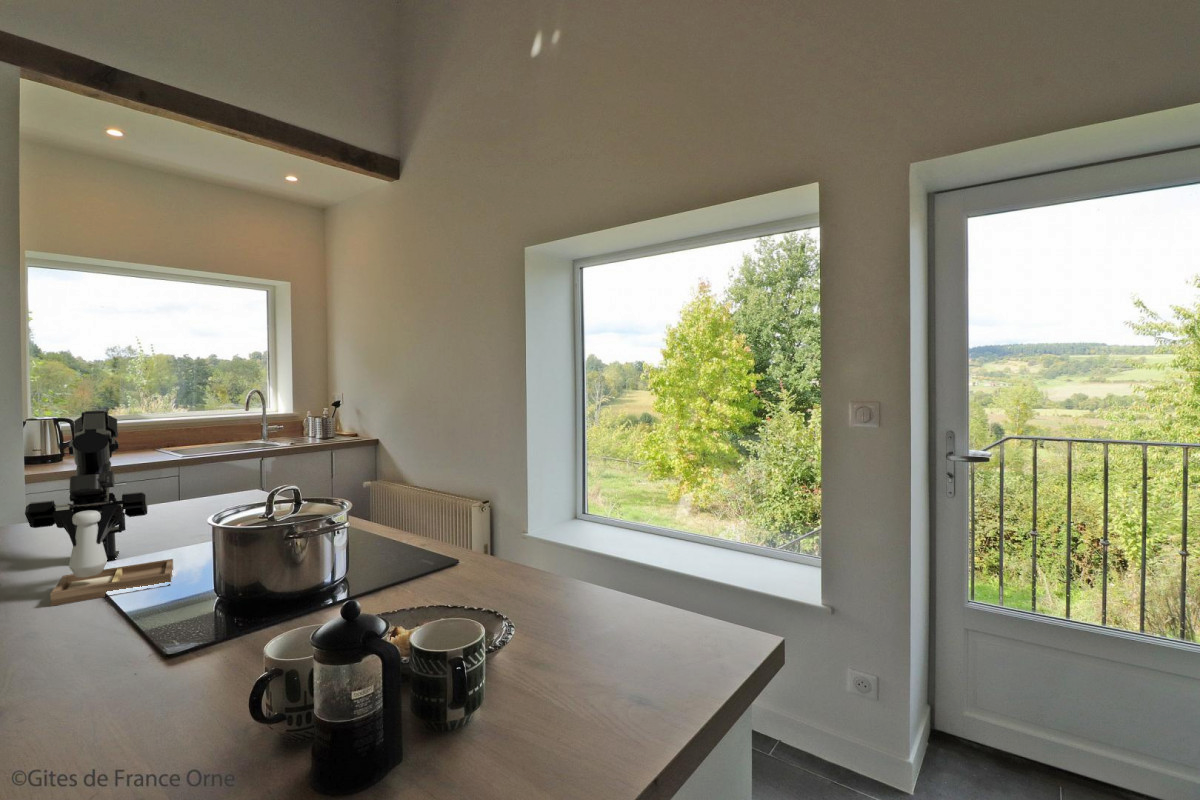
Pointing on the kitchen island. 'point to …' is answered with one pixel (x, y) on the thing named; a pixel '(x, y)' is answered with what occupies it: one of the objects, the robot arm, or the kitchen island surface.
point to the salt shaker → (87, 545)
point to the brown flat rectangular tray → (110, 581)
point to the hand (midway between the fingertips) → (86, 544)
